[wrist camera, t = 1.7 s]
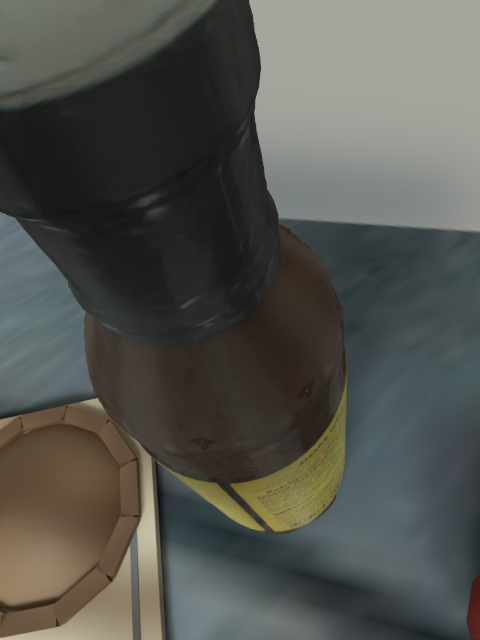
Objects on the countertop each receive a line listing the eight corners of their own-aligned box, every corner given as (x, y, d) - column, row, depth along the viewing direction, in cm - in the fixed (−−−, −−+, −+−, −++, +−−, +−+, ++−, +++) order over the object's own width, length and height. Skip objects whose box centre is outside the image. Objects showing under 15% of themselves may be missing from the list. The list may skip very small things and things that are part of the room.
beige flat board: (179, 859, 15) (171, 874, 14) (-115, 909, 16) (-140, 926, 15) (150, 391, 24) (144, 384, 24) (-36, 432, 25) (-48, 426, 24)
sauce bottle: (342, 403, 22) (391, -181, 6) (344, 544, 19) (472, 165, 3) (214, 399, 24) (-57, -96, 7) (196, 531, 20) (-384, 214, 4)
